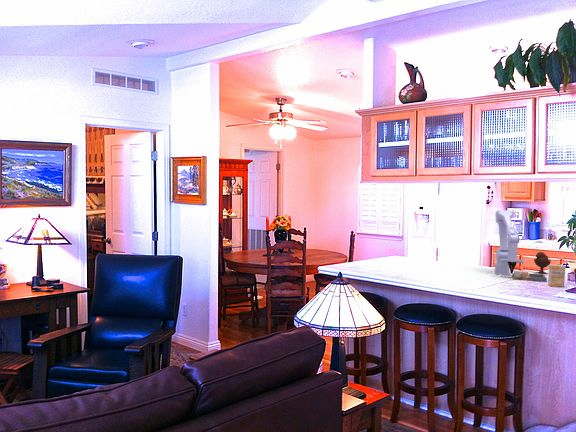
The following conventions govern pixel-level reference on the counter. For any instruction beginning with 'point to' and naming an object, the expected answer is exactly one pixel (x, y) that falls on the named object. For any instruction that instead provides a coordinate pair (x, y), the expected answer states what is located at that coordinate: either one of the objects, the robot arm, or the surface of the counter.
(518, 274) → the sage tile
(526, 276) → the walnut board
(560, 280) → the supplement box
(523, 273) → the terracotta tile
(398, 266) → the counter surface
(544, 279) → the tray
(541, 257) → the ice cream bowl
